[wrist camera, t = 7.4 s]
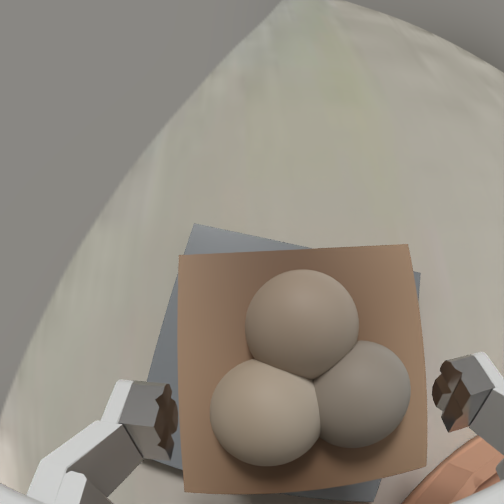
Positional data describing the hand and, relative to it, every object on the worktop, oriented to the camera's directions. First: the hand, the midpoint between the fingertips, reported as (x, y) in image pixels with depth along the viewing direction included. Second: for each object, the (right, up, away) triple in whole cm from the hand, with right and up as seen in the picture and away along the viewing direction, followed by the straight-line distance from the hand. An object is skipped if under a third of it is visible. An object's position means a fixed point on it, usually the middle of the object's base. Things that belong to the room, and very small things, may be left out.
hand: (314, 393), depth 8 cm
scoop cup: (0, -1, +5) cm, 6 cm away
